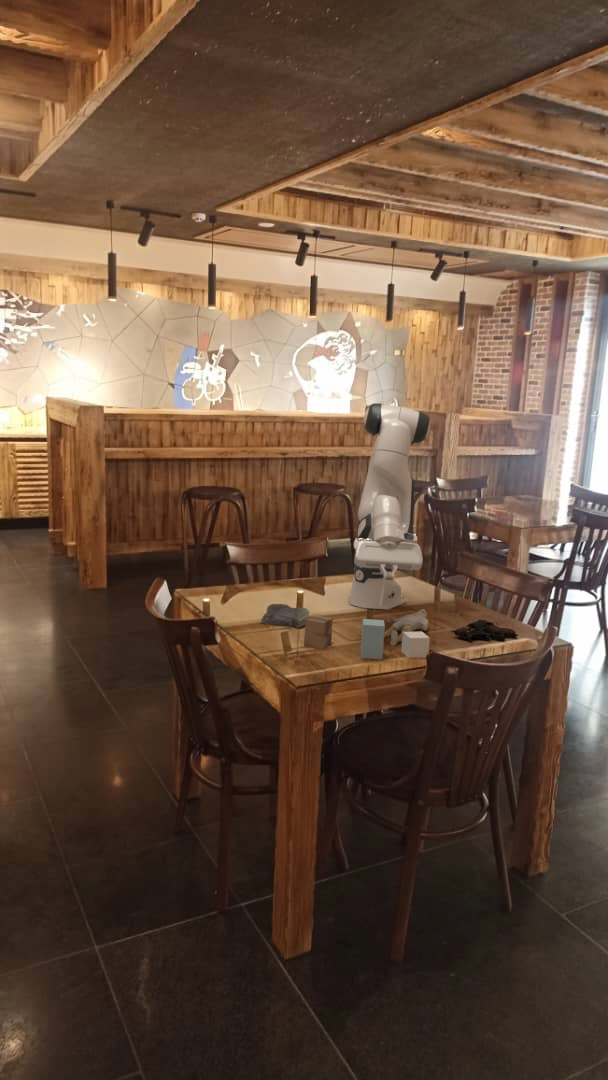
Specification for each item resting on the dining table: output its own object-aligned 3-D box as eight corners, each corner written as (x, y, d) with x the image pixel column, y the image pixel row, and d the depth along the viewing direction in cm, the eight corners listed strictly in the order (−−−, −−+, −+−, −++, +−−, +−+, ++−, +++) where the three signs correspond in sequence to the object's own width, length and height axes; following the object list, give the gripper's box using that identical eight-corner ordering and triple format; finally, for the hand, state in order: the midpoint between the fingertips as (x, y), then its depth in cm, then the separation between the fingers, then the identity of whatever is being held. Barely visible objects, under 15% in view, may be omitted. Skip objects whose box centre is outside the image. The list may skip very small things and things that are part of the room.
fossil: (303, 630, 246) (304, 618, 245) (256, 624, 250) (256, 612, 249) (316, 618, 261) (316, 607, 260) (271, 612, 265) (271, 601, 264)
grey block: (401, 651, 230) (402, 631, 229) (420, 651, 231) (422, 631, 230) (408, 658, 224) (409, 638, 223) (427, 657, 226) (429, 637, 224)
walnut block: (313, 640, 235) (314, 614, 234) (331, 644, 233) (332, 618, 231) (303, 645, 230) (305, 619, 229) (322, 649, 227) (323, 623, 226)
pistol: (522, 629, 250) (481, 614, 259) (494, 641, 236) (452, 624, 245) (519, 641, 251) (478, 626, 260) (492, 654, 237) (449, 637, 246)
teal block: (360, 652, 227) (363, 618, 225) (381, 653, 227) (383, 620, 225) (360, 658, 221) (363, 624, 219) (382, 660, 221) (384, 626, 219)
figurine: (365, 624, 239) (406, 600, 263) (364, 643, 240) (405, 618, 265) (405, 633, 232) (443, 608, 257) (404, 652, 233) (442, 625, 258)
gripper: (354, 531, 235) (355, 570, 227) (422, 536, 236) (425, 575, 228) (352, 543, 240) (352, 582, 232) (418, 548, 241) (420, 586, 233)
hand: (388, 578), depth 230 cm, fingers closed
